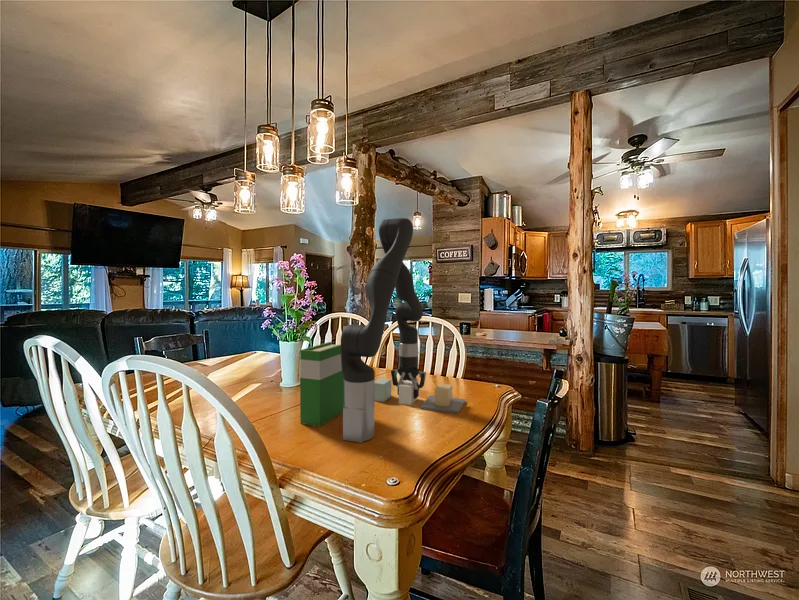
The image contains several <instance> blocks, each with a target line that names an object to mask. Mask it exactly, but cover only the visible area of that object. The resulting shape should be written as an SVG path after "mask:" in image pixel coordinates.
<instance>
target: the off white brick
mask: <svg viewBox="0 0 799 600" xmlns="http://www.w3.org/2000/svg"><path fill="white" fill-rule="evenodd" d="M414 389H415V388H414V385H413V384H412V381H408V380H406V381H405V380H404V382H403V383H402V384H400V385H399V395H398V405H399V404H400V405H406V404H407V405H406V406H412V405H413V404H414V403H415V402H416V401H417V400H418V397H417V398H416V399H417V400H416V399H414ZM415 400H416V401H415Z"/></svg>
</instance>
